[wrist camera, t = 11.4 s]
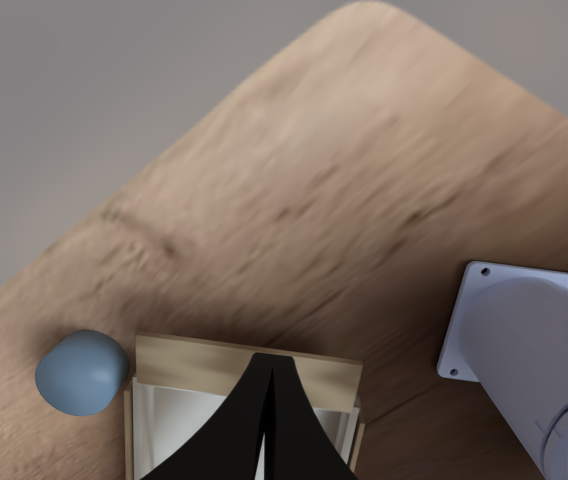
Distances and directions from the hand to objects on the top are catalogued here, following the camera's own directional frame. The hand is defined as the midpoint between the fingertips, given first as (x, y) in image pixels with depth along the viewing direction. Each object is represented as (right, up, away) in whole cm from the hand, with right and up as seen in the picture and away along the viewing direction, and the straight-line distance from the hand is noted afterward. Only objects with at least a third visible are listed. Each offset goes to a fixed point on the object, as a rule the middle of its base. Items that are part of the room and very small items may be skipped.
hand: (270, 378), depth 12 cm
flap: (-2, -5, +9) cm, 11 cm away
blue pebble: (-13, -4, +13) cm, 19 cm away
